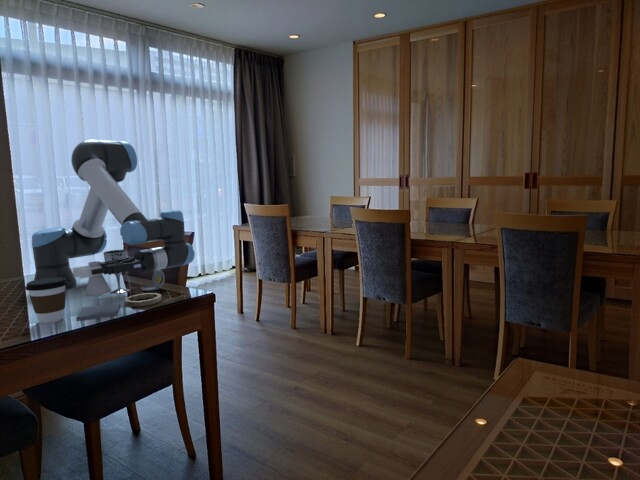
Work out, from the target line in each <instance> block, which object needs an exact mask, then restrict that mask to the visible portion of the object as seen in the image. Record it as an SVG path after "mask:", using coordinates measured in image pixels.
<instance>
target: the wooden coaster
mask: <svg viewBox="0 0 640 480" xmlns="http://www.w3.org/2000/svg"><path fill="white" fill-rule="evenodd" d="M142 299H143V300H142ZM161 301H162V294H160V293H158V292H146V293H139V294H133V295H130V296H128V297H125V298H124V301H123V302H124V306H126V307H134V308H135V307H139V308H140V307H147V306H150V305H151V306H152V305H155V304H157V303H158V304H159V303H160V302H161Z"/></svg>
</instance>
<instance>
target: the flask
mask: <svg viewBox="0 0 640 480" xmlns="http://www.w3.org/2000/svg"><path fill="white" fill-rule="evenodd" d="M100 262H101V261H99V260H98V261H97V260H96V261H90V262H88V266H89V265H90V267H95V266H100ZM111 291H112V290H111V287H110V286H109V284H108V283H107V281H106V278H105V277H104V274H103V275H97V276H92V277H88V281H87V284H86V288H85V292H84V295H83V296H85V297H98V296H103V295H104V296H105V295H107V294H110V292H111Z"/></svg>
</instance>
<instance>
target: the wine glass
mask: <svg viewBox="0 0 640 480" xmlns="http://www.w3.org/2000/svg"><path fill="white" fill-rule="evenodd" d="M126 257H129V255H128V250H127V249H114V250H108V251H104V252H103V259H104V262H105V261H111V260H116V259H120V258H122V259H124V258H126ZM122 273H123V272H121V273H115V274H114V276H115V277H116V283H117V288H116V289H114V290H111V292H110V293H109V294H111V295H118V294H125V293H128V292H130V291H131V290H130V289H128V288H122V287H121V275H122Z"/></svg>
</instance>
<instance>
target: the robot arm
mask: <svg viewBox="0 0 640 480" xmlns="http://www.w3.org/2000/svg"><path fill="white" fill-rule="evenodd" d="M71 166H72V169H73V171H74V173H75V174H76V175H77V176H78V178H79V179H80V180H81V181H83V182H86V183H87V184H88V185H89V187H90V188H89V190H88V194H87V196H86V199H85V202H84V205H83V207H82V211H81V215H80V217H79V219H76V220H75V221H74V222H73V224H72V227H71V228H70V229H66V228H65V227H64V226H55V227H49V228H46V229H45V228H44V229H40V230H37V231H35V232H34V233H33V234H32V235H31V248H32V251H33V252H32V253H33V260H34V265H35V266H34V268H35V273H34V277H33V281H34V280H39V279H44V278H54V277H63V278H65V279H66V281H68V284H67V285H65V290H70V289H72V288H75V287H77V285H78V283H77V278H79V279H80V280H81V279H85V278H89V277H92V276H97V275H103V276H104V275H107V274H108V275H109V276H110V275H115V273H121V272H122V273H127V272H132V271H137V272H138V273H140V274H146V273H151V272H152V271H153V272H155V271H156V270H158V272H159V271H161V270H164V269H166V270H167V269H169V268H176V267H183V266H185V265H188V264H192V262H193V261H194V259H195V253H196V252H195V250H194V247H193V245H192V244H191V243H190V242H189V243H188V242H187V240H186V231H185V220H184V213H183V211H181V210H178V209H176V210H175V209H174V210H163V211H160V215H159V217H156V218H146V217H145V215H144V214H143V212H141V211H140V209H139V208H138V206H136V204H135V203H134V202H133V201H132V199H131V198H130V197H129V195H128V194H127V193H126V192H125V191H124V189H123V188H122V187H121V186H120V184H119V183H122V182H123V181H124V180H125V178H126V175H127V173H132V172H135V170H136V168H137V166H138V157H137V153H136V150H135V149H134V147H133V146H132V144H131V143H130V142H127V141H124V140H123V141H122V140H118V139H116V140H108V139H107V140H106V139H105V140H101V139H86V140H83V141H81V142H80V143H78V144H77V145H76V146H75V147H74V149H73V150H72V154H71ZM108 211H109V212H110V213H111V214H112V215H113V217H114V218H115V219H116V220H117V222H118V223H119V225H121V226H120V229H119V232H120V234H119V235H120V236H121V240H122V241H123V242H124V243H125V244H126V245H129V246H133V245H143V244H146V243H151V242H159V241H162V243H163V246H158V247H152V248H148V249H147V248H146V249H141V250H136V252H135V253H134V256H133V257H131V256H128V257H126V258H124V259H122V258H120V259H116V260H111V261H105V260H104V261H100V266H95V267H90V265H89V264H88V265H85V266H83V265H82V266H79V267H77V266H76V267H73V268H71V267H70V265H71V264H70V259H71V260H72V259H75V258H83V257H88V256H95V255H97V254H101V252H103V251H104V250H105V248H106V246H107V244H108V240H107V233H106V230H105V229H104V226H103V225H104V222H105V219H106V216H107V213H108ZM122 273H121V274H122Z"/></svg>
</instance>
